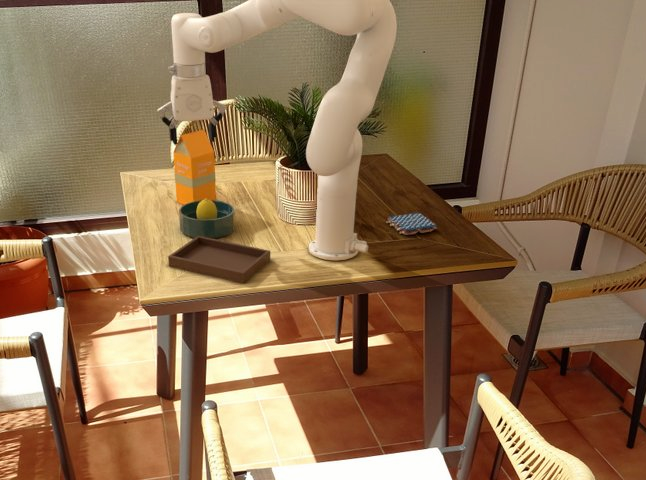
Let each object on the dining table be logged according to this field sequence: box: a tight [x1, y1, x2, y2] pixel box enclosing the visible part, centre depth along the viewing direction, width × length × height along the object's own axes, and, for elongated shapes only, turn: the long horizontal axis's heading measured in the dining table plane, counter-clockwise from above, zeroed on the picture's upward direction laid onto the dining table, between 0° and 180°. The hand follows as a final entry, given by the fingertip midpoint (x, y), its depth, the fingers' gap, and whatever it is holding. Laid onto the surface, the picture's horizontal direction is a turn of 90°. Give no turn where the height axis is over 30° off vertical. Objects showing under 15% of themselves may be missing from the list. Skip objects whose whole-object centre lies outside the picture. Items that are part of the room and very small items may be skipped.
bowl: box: [178, 199, 236, 239], centre depth 195 cm, size 15×15×6 cm
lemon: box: [196, 199, 217, 220], centre depth 194 cm, size 6×6×8 cm
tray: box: [167, 236, 271, 284], centre depth 178 cm, size 21×14×3 cm
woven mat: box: [386, 212, 438, 236], centre depth 198 cm, size 10×11×2 cm
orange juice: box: [172, 128, 217, 206], centre depth 208 cm, size 8×9×20 cm
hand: (193, 141), depth 186 cm, fingers open, 9 cm apart
